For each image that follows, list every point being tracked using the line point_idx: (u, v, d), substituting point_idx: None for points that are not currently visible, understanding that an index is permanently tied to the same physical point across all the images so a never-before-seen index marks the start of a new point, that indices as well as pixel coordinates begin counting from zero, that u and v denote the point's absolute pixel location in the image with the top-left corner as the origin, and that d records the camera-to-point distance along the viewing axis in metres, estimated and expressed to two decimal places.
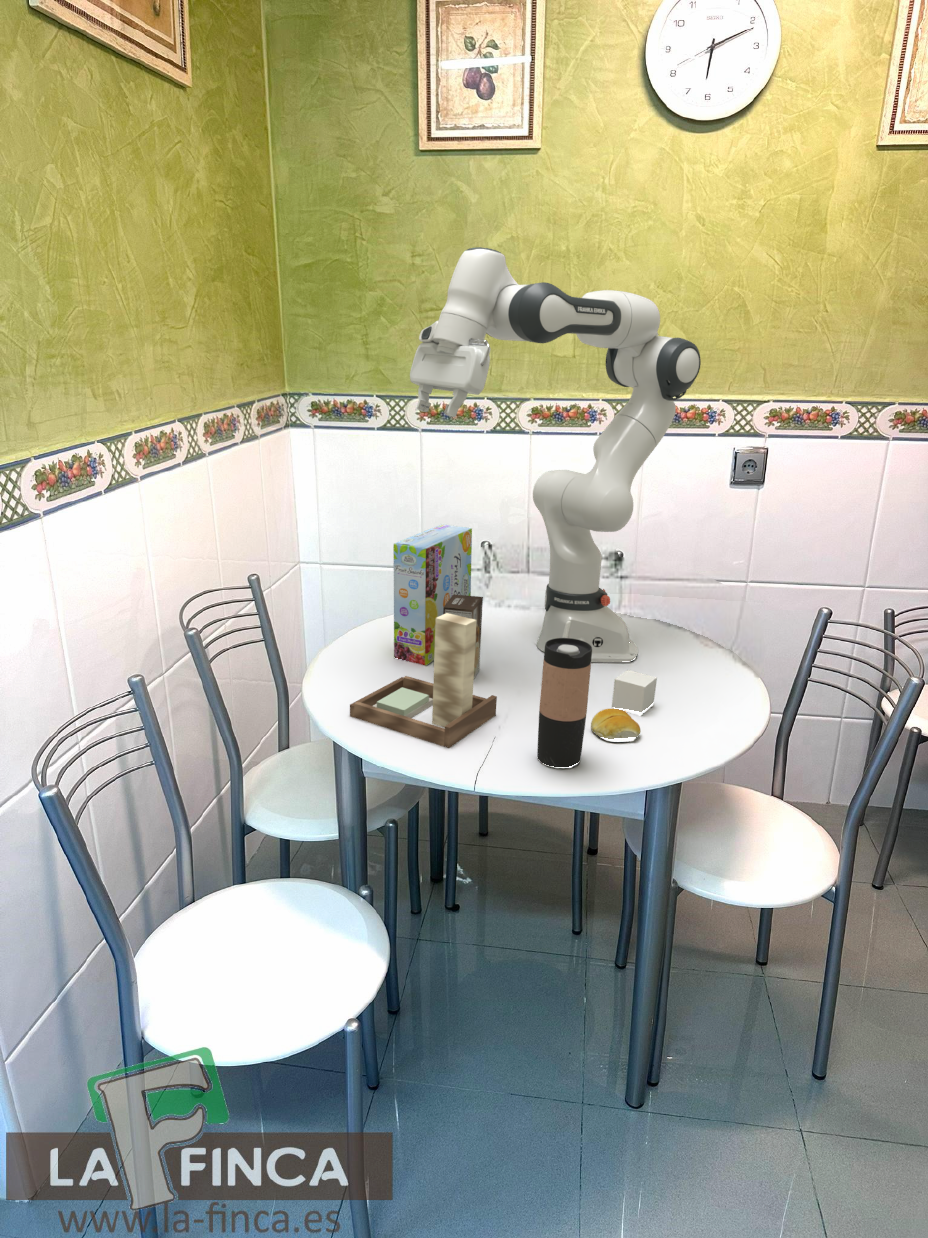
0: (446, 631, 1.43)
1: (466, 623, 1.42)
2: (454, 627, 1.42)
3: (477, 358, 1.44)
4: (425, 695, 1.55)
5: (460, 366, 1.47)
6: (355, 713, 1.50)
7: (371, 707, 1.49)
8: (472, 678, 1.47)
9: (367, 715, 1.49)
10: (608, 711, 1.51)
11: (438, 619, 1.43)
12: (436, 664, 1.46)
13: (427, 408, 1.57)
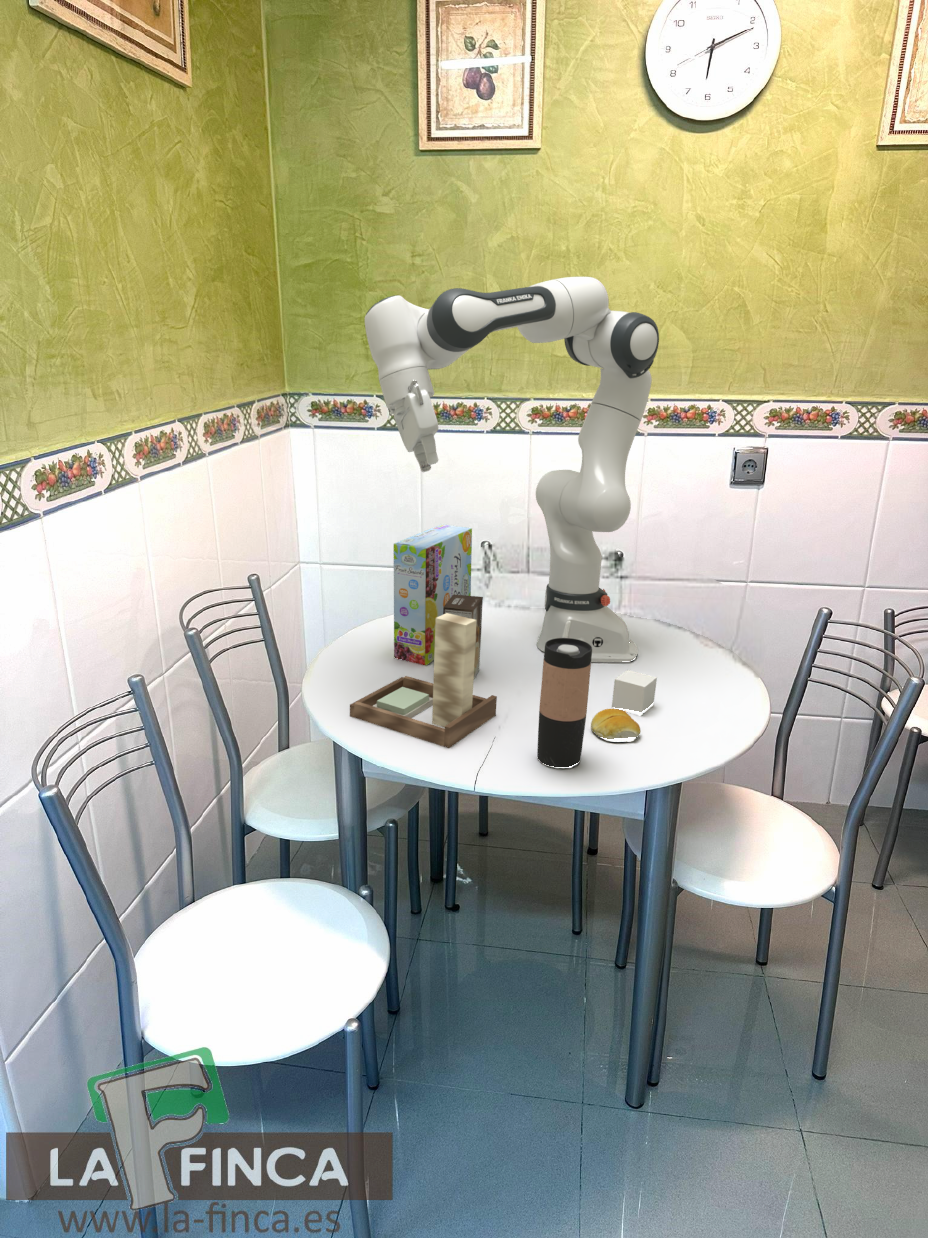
0: (446, 631, 1.43)
1: (466, 623, 1.42)
2: (454, 627, 1.42)
3: (413, 401, 1.40)
4: (425, 694, 1.56)
5: (410, 417, 1.44)
6: (355, 713, 1.50)
7: (371, 707, 1.49)
8: (472, 678, 1.47)
9: (367, 715, 1.49)
10: (608, 711, 1.51)
11: (438, 619, 1.43)
12: (436, 664, 1.46)
13: (429, 465, 1.55)
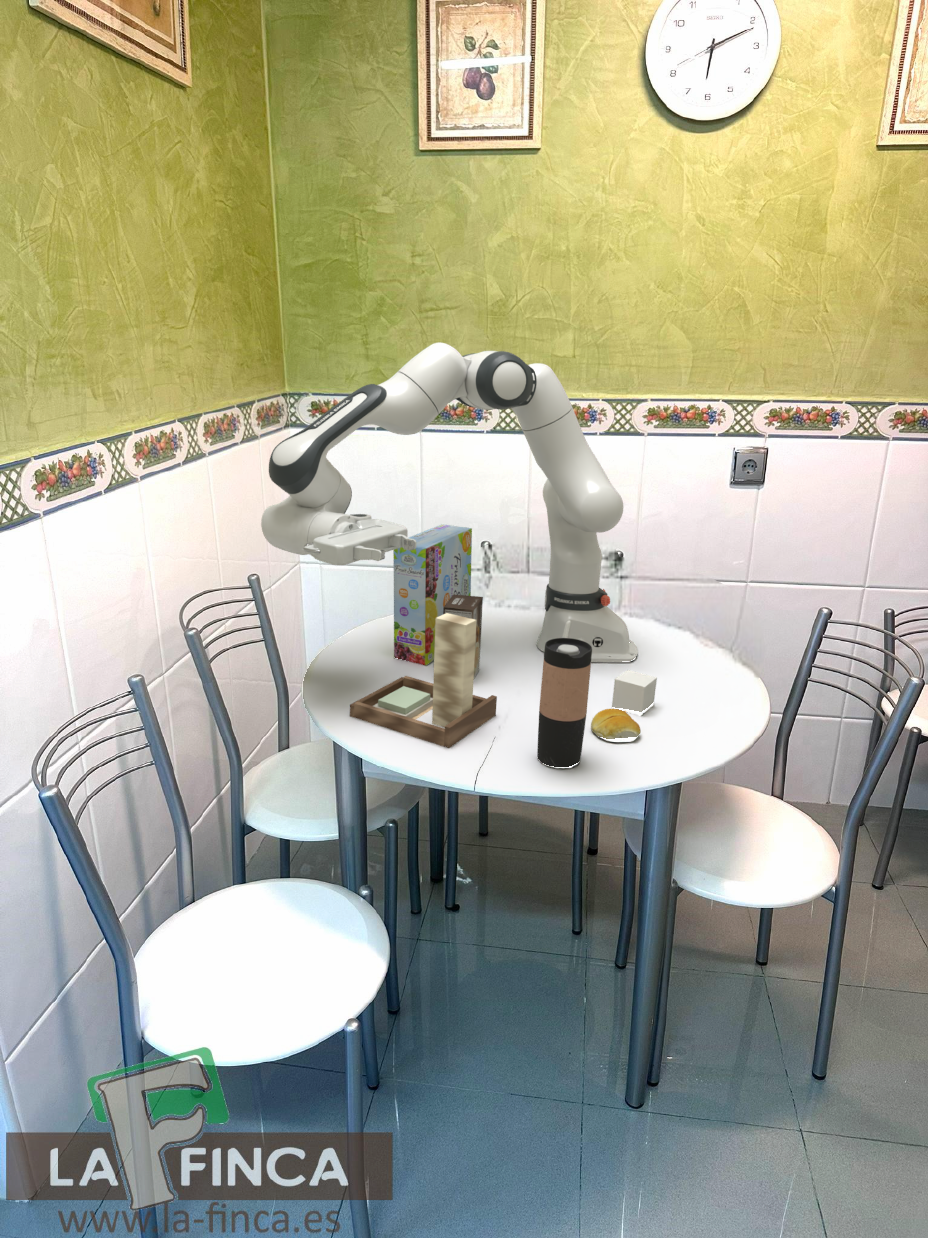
0: (446, 631, 1.43)
1: (465, 623, 1.42)
2: (454, 627, 1.42)
3: (317, 557, 1.44)
4: (426, 694, 1.56)
5: None
6: (355, 713, 1.50)
7: (371, 707, 1.49)
8: (472, 678, 1.47)
9: (367, 715, 1.49)
10: (608, 711, 1.50)
11: (438, 619, 1.43)
12: (436, 664, 1.46)
13: (408, 542, 1.50)
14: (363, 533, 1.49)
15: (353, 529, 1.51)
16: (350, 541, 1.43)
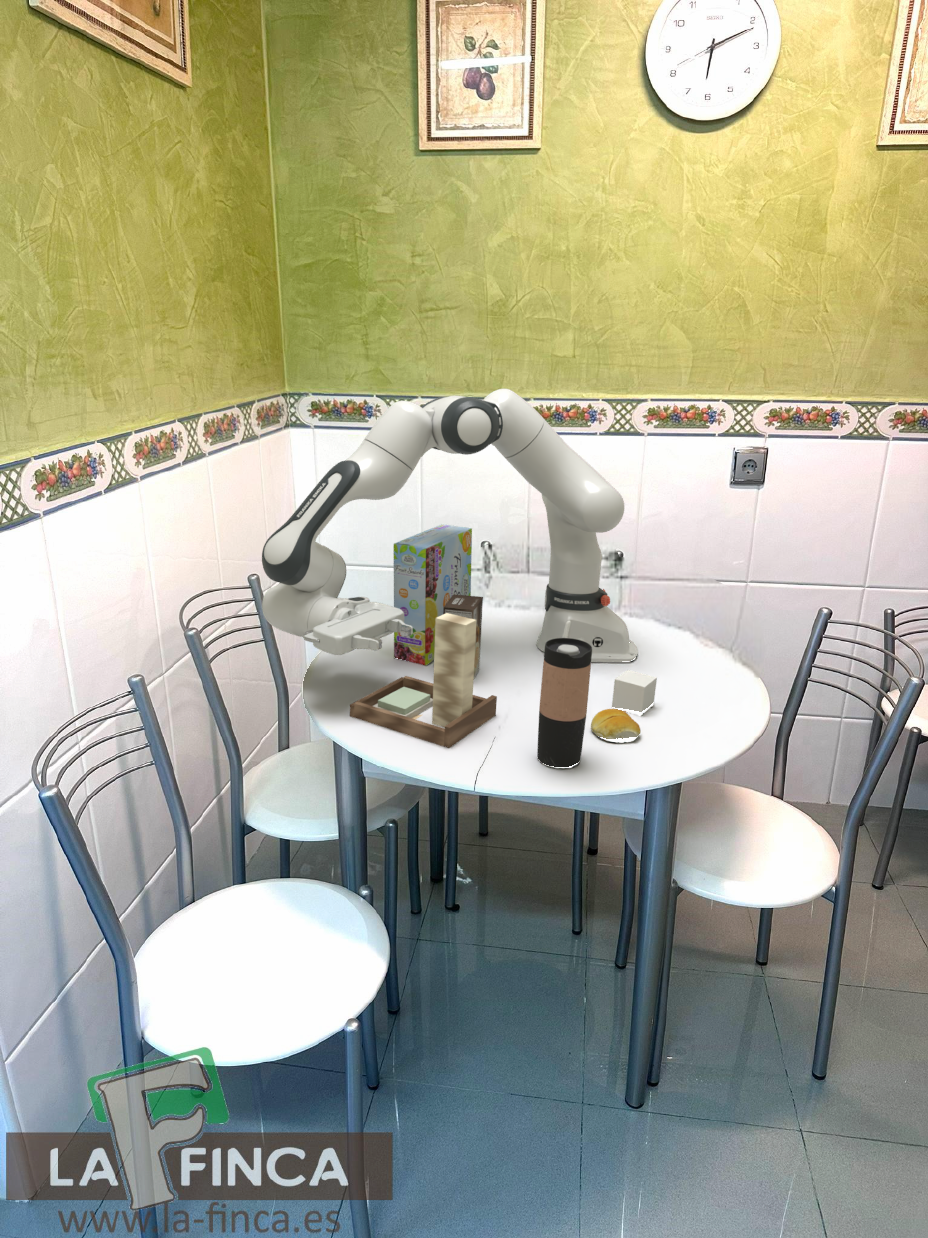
0: (446, 631, 1.43)
1: (465, 623, 1.42)
2: (454, 627, 1.42)
3: (316, 645, 1.49)
4: (426, 695, 1.56)
5: None
6: (355, 713, 1.50)
7: (371, 707, 1.49)
8: (472, 678, 1.47)
9: (367, 715, 1.49)
10: (608, 712, 1.50)
11: (438, 619, 1.43)
12: (436, 664, 1.46)
13: (405, 628, 1.55)
14: (361, 620, 1.54)
15: (351, 615, 1.56)
16: (348, 631, 1.48)
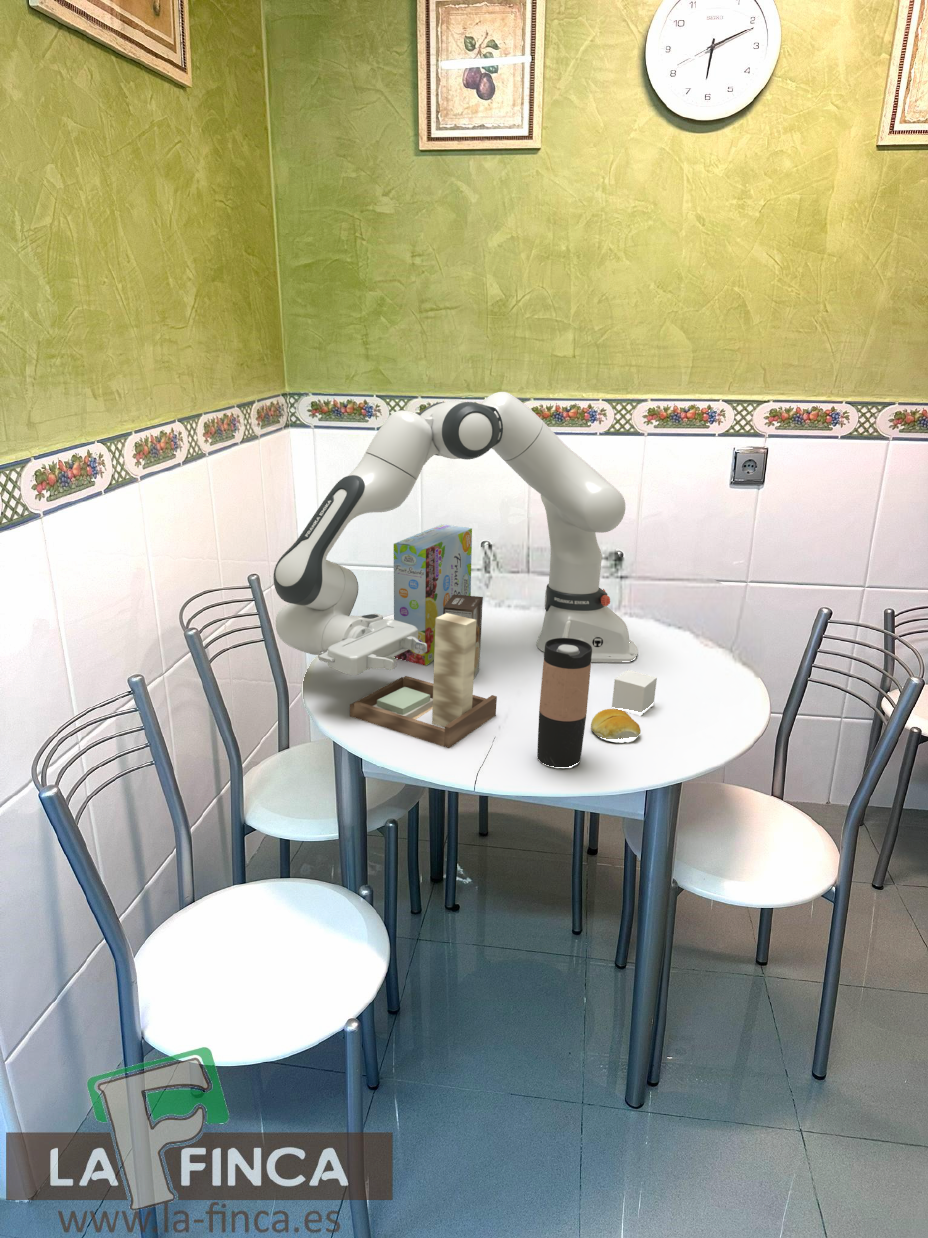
0: (446, 631, 1.43)
1: (465, 623, 1.42)
2: (454, 627, 1.42)
3: (331, 665, 1.49)
4: (426, 695, 1.56)
5: None
6: (355, 713, 1.50)
7: (371, 707, 1.49)
8: (472, 678, 1.47)
9: (367, 715, 1.49)
10: (608, 712, 1.50)
11: (438, 619, 1.43)
12: (436, 664, 1.46)
13: (419, 646, 1.55)
14: (375, 638, 1.54)
15: (366, 633, 1.56)
16: (363, 650, 1.48)
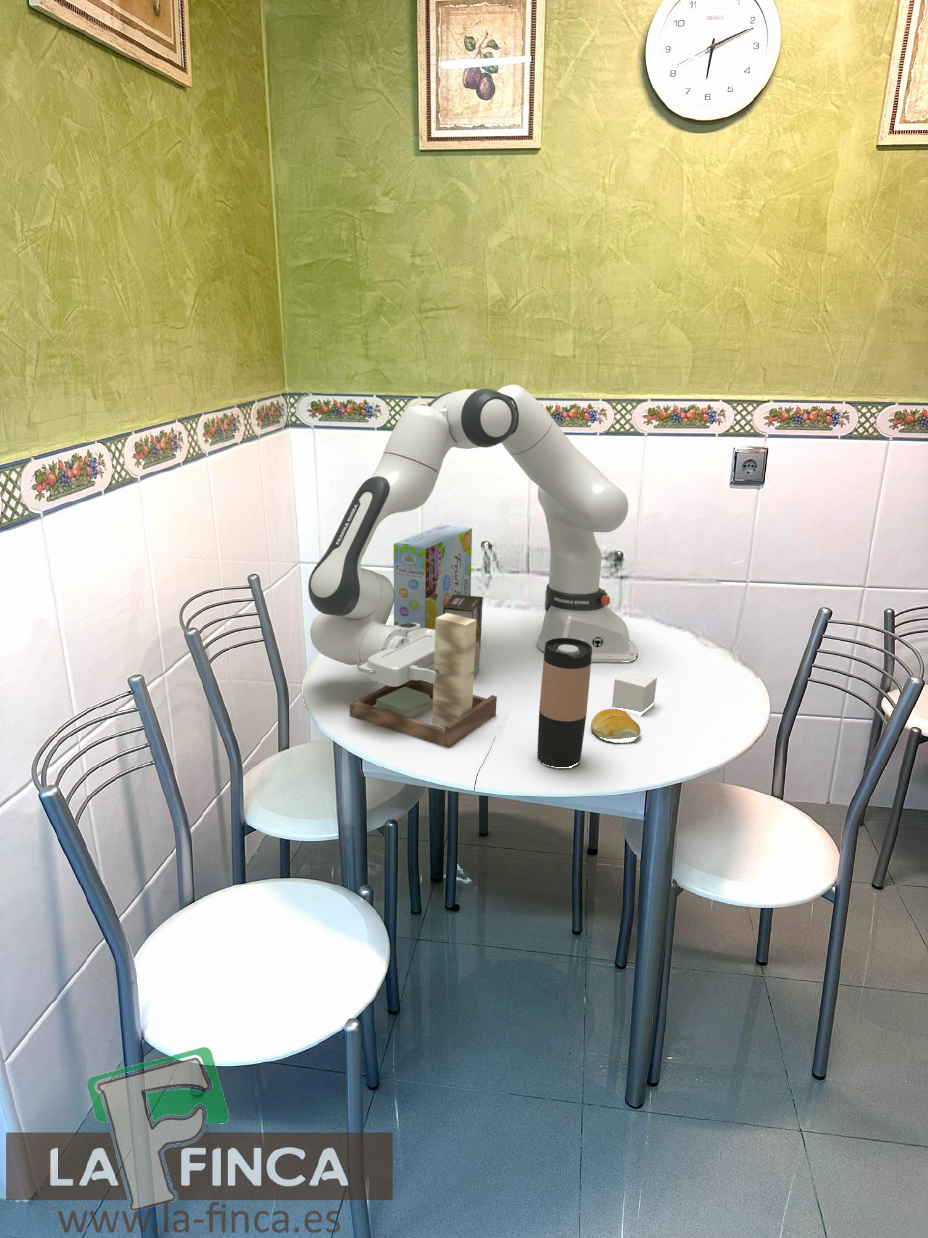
0: (446, 631, 1.43)
1: (466, 623, 1.42)
2: (454, 627, 1.42)
3: (371, 676, 1.44)
4: (426, 695, 1.56)
5: None
6: (355, 713, 1.50)
7: (371, 707, 1.49)
8: (472, 678, 1.47)
9: (367, 715, 1.49)
10: (608, 712, 1.50)
11: (438, 619, 1.43)
12: (436, 664, 1.46)
13: None
14: (415, 648, 1.50)
15: (404, 643, 1.52)
16: (404, 661, 1.44)
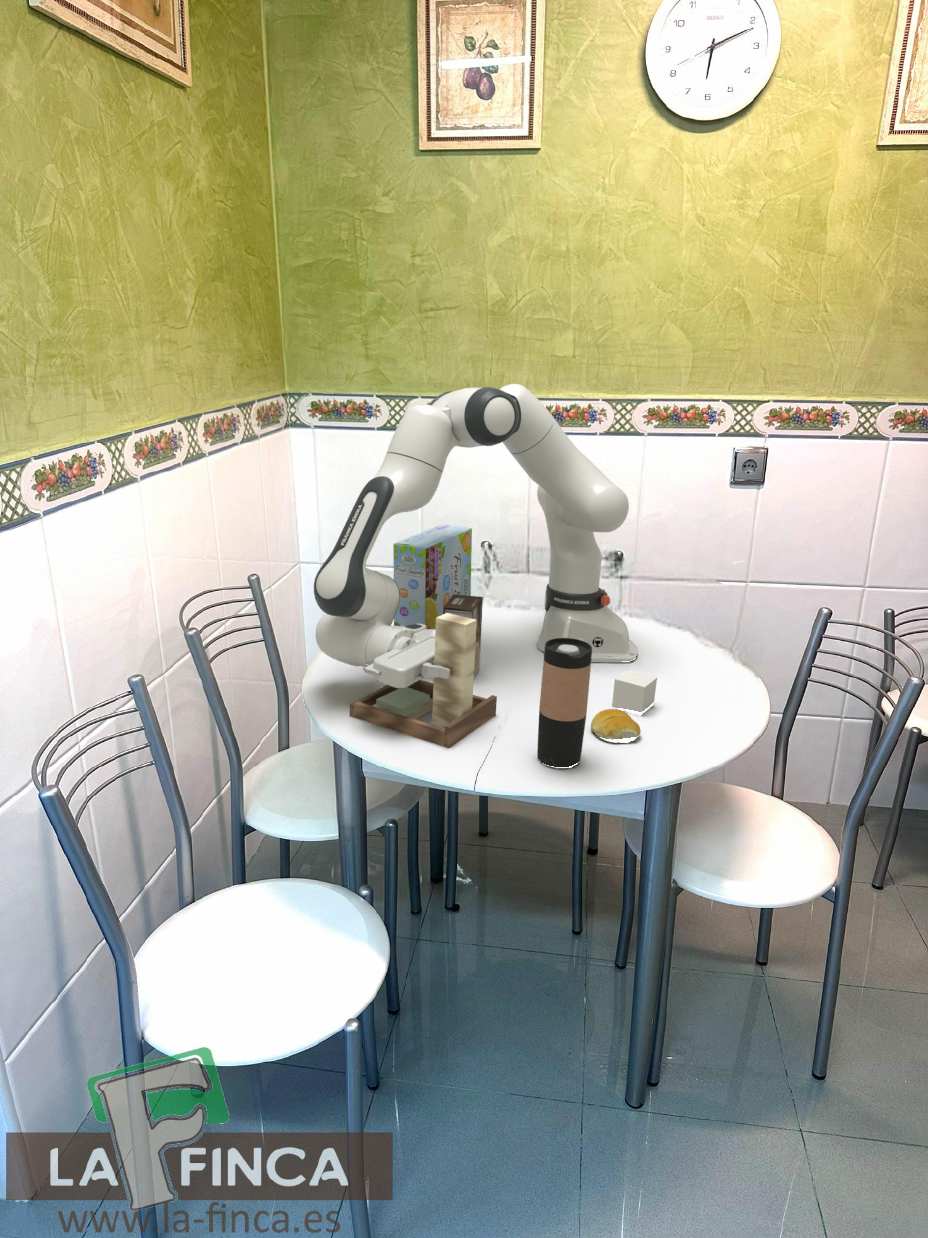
0: (446, 631, 1.43)
1: (466, 623, 1.42)
2: (454, 627, 1.42)
3: (377, 678, 1.44)
4: (426, 695, 1.56)
5: None
6: (355, 713, 1.50)
7: (371, 707, 1.49)
8: (472, 678, 1.47)
9: (367, 715, 1.49)
10: (608, 712, 1.50)
11: (438, 619, 1.43)
12: (436, 664, 1.46)
13: None
14: (421, 649, 1.49)
15: (410, 644, 1.51)
16: (411, 663, 1.43)
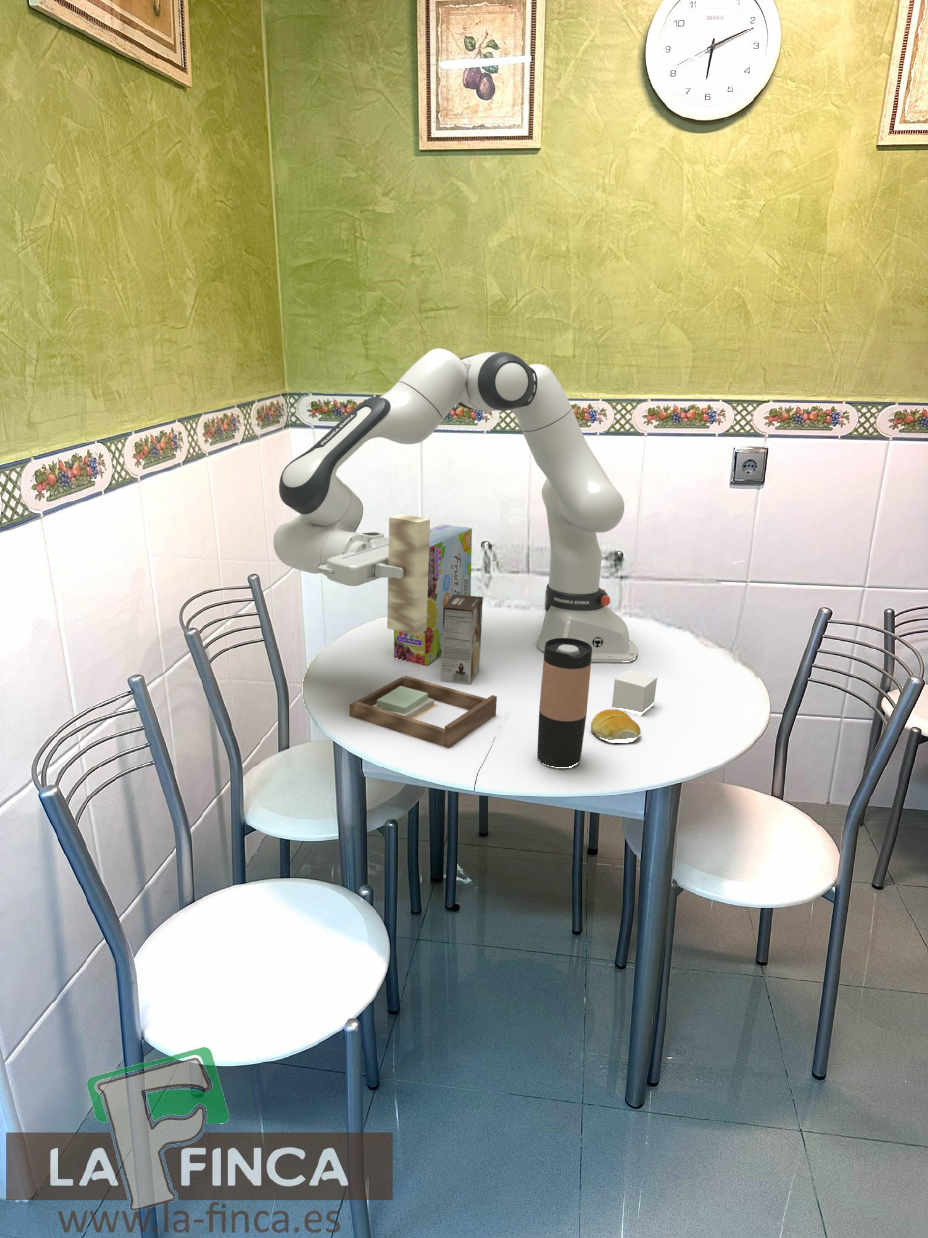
0: (399, 530, 1.43)
1: (418, 521, 1.41)
2: (407, 525, 1.42)
3: (330, 577, 1.43)
4: (424, 693, 1.56)
5: None
6: (355, 713, 1.50)
7: (371, 707, 1.49)
8: (426, 579, 1.46)
9: (367, 715, 1.49)
10: (608, 712, 1.50)
11: (391, 518, 1.43)
12: (390, 565, 1.46)
13: None
14: (376, 552, 1.49)
15: (366, 548, 1.51)
16: (364, 561, 1.43)
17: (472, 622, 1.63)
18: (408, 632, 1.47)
